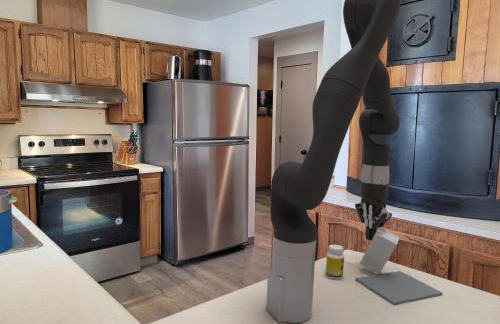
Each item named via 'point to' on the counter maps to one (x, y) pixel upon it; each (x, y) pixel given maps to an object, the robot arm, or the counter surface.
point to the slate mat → (398, 287)
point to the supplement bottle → (335, 262)
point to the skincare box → (379, 250)
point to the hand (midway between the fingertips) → (370, 239)
